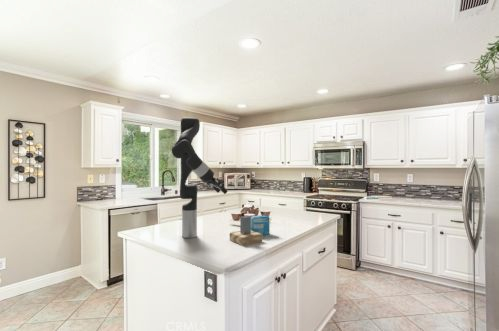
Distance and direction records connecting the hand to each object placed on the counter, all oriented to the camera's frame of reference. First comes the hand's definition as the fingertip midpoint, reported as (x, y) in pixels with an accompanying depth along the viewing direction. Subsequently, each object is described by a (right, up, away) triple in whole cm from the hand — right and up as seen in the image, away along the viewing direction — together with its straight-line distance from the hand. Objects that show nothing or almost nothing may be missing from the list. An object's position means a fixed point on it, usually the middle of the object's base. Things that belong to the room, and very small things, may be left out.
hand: (222, 192), depth 148 cm
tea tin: (+13, -26, +13) cm, 32 cm away
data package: (+22, -31, +28) cm, 47 cm away
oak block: (+13, -31, +13) cm, 36 cm away
